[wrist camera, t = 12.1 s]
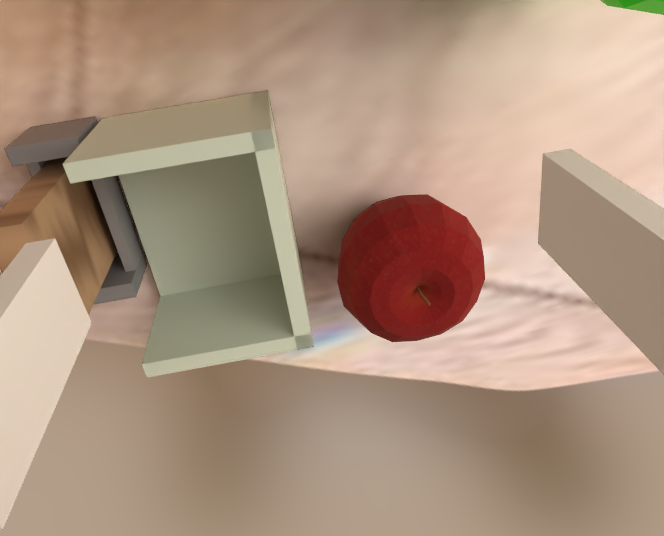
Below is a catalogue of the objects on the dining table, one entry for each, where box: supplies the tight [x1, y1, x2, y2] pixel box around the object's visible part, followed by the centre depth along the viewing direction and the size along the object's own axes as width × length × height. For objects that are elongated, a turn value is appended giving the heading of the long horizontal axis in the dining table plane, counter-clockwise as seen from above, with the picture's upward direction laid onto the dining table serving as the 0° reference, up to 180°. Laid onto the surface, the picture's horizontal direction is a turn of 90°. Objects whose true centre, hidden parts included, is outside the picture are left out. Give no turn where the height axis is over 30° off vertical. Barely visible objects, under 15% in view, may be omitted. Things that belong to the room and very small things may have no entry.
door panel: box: [0, 157, 118, 315], centre depth 38 cm, size 8×3×13 cm, turn 8°
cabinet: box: [4, 90, 314, 377], centre depth 41 cm, size 16×17×10 cm
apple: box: [337, 195, 485, 342], centre depth 43 cm, size 11×11×12 cm
